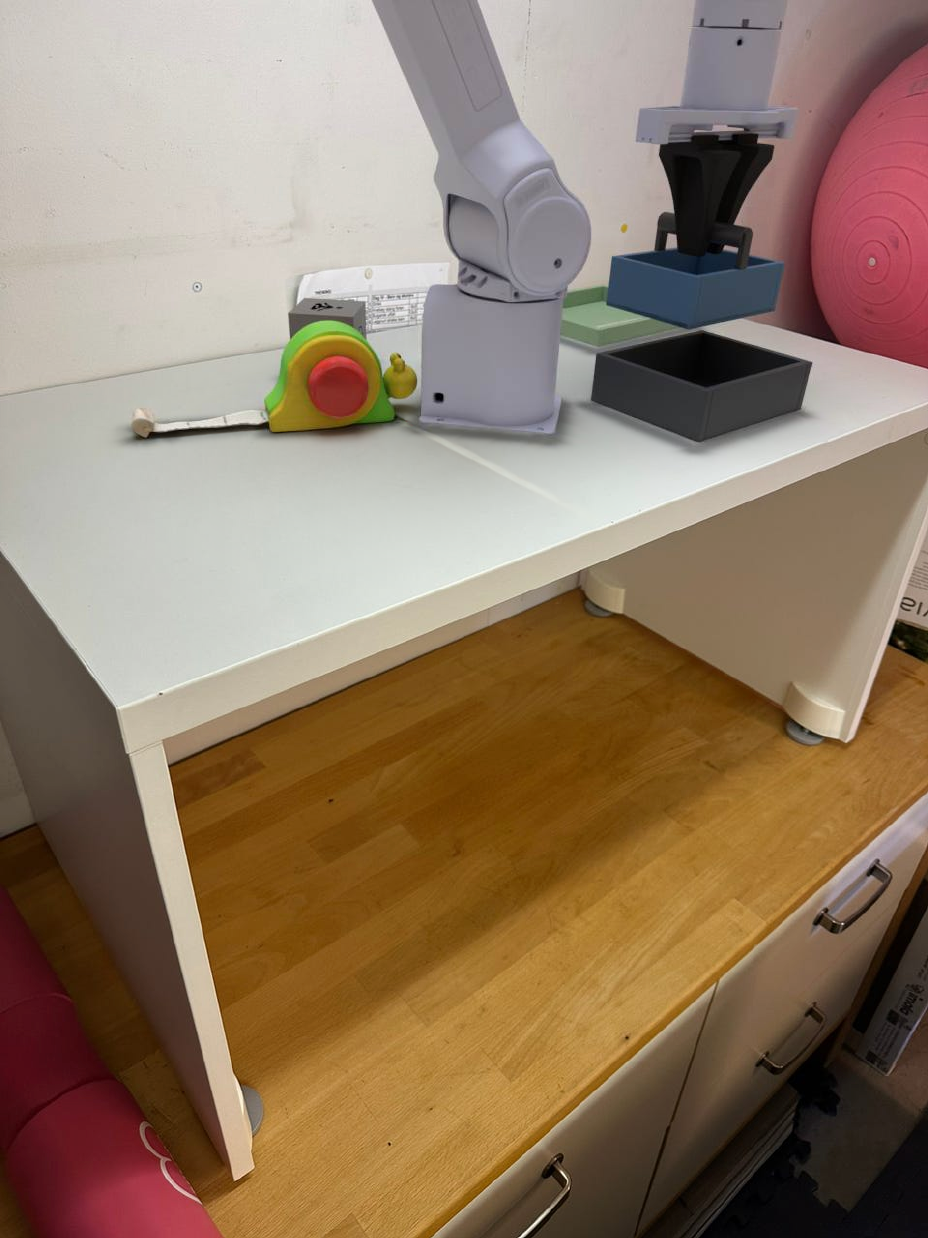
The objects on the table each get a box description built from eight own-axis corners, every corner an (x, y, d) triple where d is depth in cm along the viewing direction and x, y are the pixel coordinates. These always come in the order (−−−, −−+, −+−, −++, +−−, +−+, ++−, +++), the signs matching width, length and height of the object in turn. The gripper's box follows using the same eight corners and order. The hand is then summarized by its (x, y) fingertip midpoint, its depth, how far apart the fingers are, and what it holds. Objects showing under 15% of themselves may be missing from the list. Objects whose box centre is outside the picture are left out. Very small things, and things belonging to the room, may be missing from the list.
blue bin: (688, 329, 62) (704, 233, 58) (605, 305, 67) (616, 215, 63) (775, 311, 67) (794, 222, 64) (692, 289, 72) (705, 206, 69)
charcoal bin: (696, 448, 60) (707, 391, 58) (589, 406, 67) (595, 352, 65) (799, 414, 67) (813, 361, 65) (693, 378, 74) (701, 329, 71)
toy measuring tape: (427, 429, 62) (429, 333, 58) (133, 451, 57) (115, 348, 53) (406, 398, 67) (406, 309, 63) (134, 417, 62) (117, 320, 58)
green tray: (596, 351, 79) (599, 329, 78) (504, 321, 87) (505, 301, 86) (693, 328, 87) (697, 308, 86) (601, 302, 95) (603, 284, 94)
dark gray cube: (308, 359, 74) (304, 297, 72) (367, 363, 74) (365, 301, 71) (292, 377, 70) (288, 312, 67) (355, 381, 70) (353, 316, 67)
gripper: (714, 25, 51) (676, 273, 58) (853, 34, 59) (804, 252, 66) (624, 24, 56) (599, 254, 63) (764, 33, 63) (727, 237, 71)
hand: (699, 253), depth 65 cm, fingers closed on blue bin
